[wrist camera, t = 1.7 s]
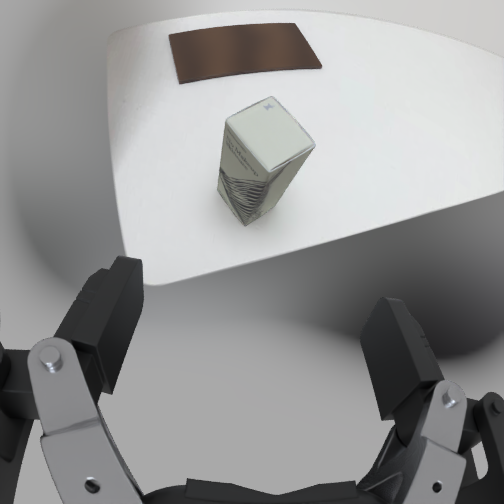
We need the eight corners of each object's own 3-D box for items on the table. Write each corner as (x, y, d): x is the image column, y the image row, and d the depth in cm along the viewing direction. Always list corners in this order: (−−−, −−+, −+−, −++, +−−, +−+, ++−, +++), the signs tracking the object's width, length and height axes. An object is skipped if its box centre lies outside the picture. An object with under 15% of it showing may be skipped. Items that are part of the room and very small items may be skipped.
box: (215, 189, 31) (219, 115, 19) (249, 168, 32) (270, 91, 20) (246, 230, 31) (268, 173, 18) (279, 206, 32) (319, 142, 19)
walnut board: (179, 84, 33) (179, 81, 33) (168, 37, 35) (168, 34, 35) (321, 68, 37) (322, 65, 36) (294, 25, 39) (294, 23, 38)
